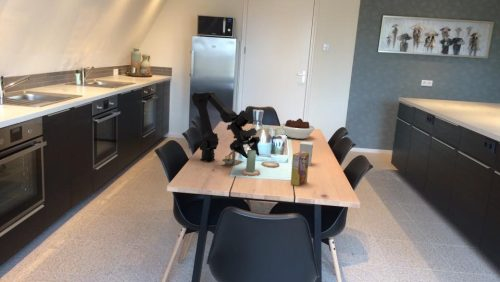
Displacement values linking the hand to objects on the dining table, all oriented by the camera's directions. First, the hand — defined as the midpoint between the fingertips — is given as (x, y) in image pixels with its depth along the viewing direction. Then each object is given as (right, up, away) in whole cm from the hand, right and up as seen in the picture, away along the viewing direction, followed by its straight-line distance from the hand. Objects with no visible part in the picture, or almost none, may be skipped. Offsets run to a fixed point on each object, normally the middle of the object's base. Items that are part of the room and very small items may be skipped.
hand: (253, 156), depth 214 cm
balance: (-11, -5, +19) cm, 22 cm away
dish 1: (-1, -9, +2) cm, 9 cm away
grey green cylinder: (-1, -8, +2) cm, 8 cm away
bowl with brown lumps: (+35, +10, +107) cm, 113 cm away
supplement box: (+30, -6, +29) cm, 43 cm away
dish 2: (+10, -6, +21) cm, 24 cm away
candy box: (+22, -13, -10) cm, 28 cm away
